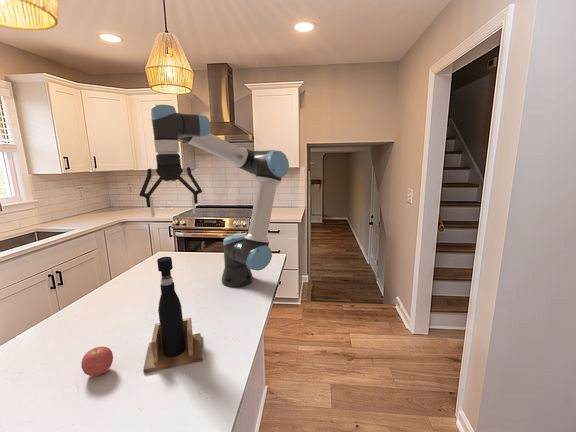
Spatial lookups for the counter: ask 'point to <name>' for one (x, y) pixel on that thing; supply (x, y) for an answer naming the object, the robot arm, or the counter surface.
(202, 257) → the counter surface
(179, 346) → the wine bottle
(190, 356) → the u rest
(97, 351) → the apple
